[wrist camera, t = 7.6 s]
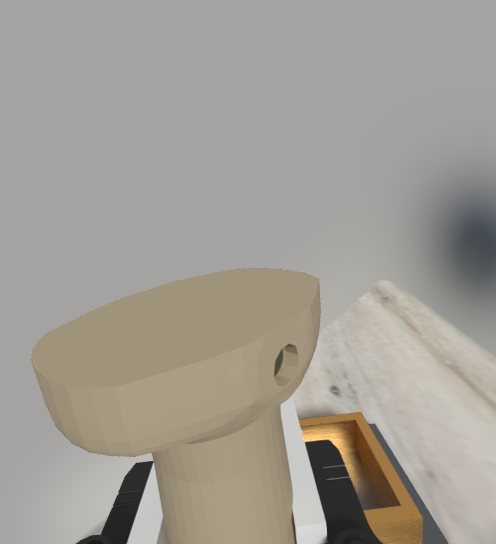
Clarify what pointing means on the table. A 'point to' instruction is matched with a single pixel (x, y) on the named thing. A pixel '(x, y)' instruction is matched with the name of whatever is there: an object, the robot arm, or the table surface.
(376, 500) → the socket
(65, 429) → the handle
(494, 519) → the table surface
